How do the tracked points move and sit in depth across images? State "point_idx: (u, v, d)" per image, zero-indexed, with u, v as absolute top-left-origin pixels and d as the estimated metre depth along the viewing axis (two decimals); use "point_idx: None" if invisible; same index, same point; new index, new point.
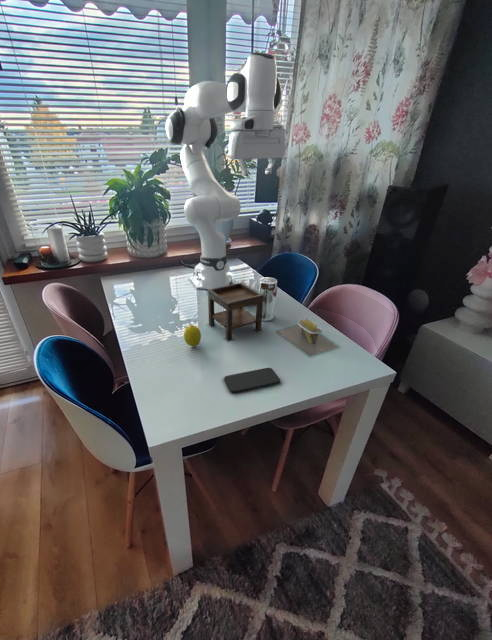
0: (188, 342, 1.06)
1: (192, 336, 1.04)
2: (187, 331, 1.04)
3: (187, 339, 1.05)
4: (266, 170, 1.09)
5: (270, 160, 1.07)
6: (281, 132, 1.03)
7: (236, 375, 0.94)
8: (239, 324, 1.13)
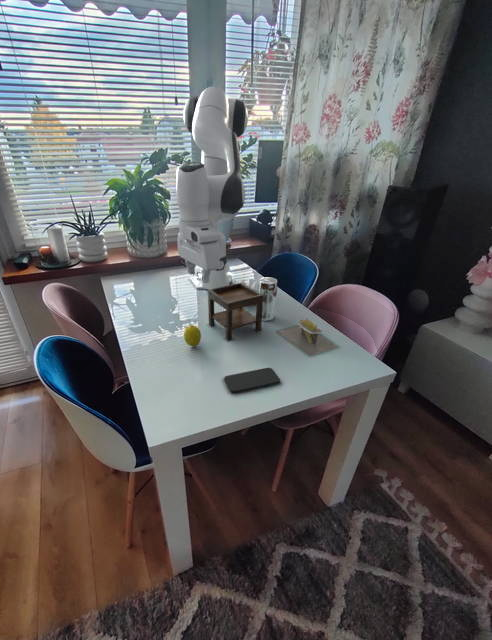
0: (188, 342, 1.06)
1: (192, 336, 1.04)
2: (187, 331, 1.04)
3: (187, 339, 1.05)
4: (191, 270, 1.01)
5: None
6: None
7: (236, 375, 0.94)
8: (239, 324, 1.13)
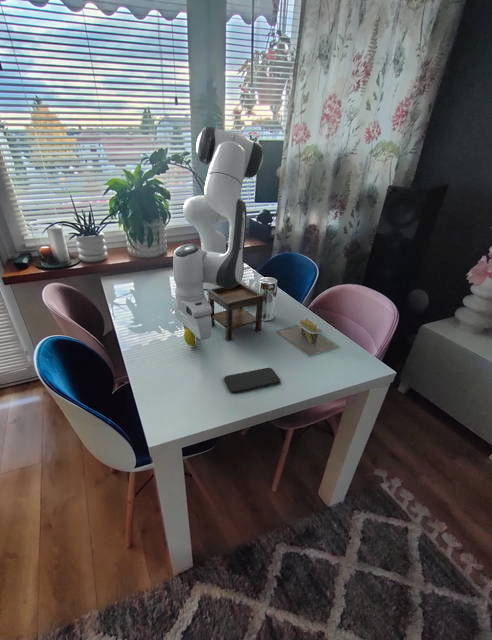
0: (188, 342, 1.06)
1: (192, 336, 1.04)
2: (187, 331, 1.04)
3: (187, 339, 1.05)
4: None
5: None
6: None
7: (236, 375, 0.94)
8: (239, 324, 1.13)
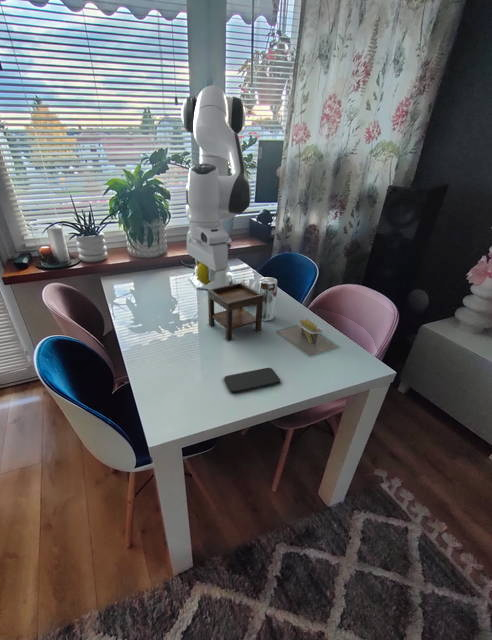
0: (201, 278, 0.99)
1: (205, 271, 0.98)
2: (200, 266, 0.98)
3: (200, 275, 0.98)
4: None
5: None
6: None
7: (236, 375, 0.94)
8: (239, 324, 1.13)
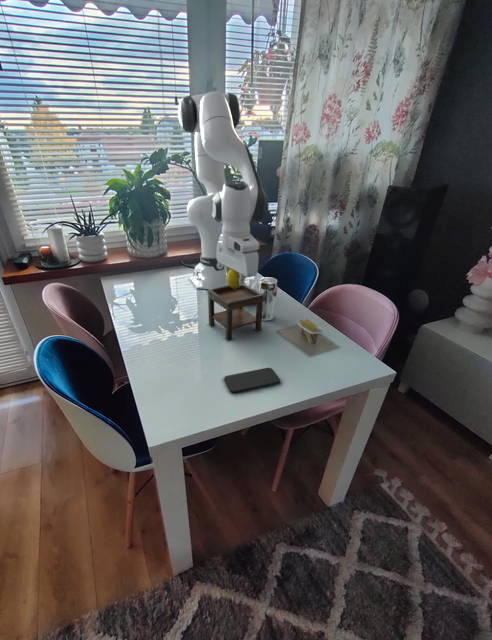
0: (231, 283, 1.08)
1: (236, 277, 1.07)
2: (231, 272, 1.07)
3: (231, 280, 1.08)
4: None
5: None
6: None
7: (236, 375, 0.94)
8: (239, 324, 1.13)
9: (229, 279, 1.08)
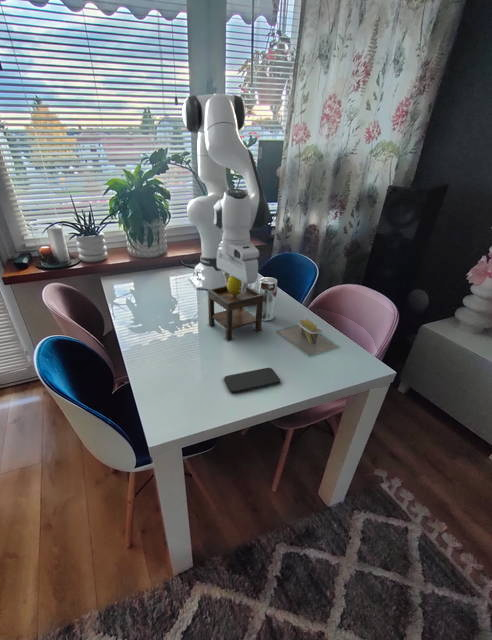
0: (231, 290, 1.10)
1: (235, 284, 1.08)
2: (231, 279, 1.08)
3: (231, 287, 1.09)
4: None
5: None
6: None
7: (236, 375, 0.94)
8: (239, 324, 1.13)
9: (229, 286, 1.09)
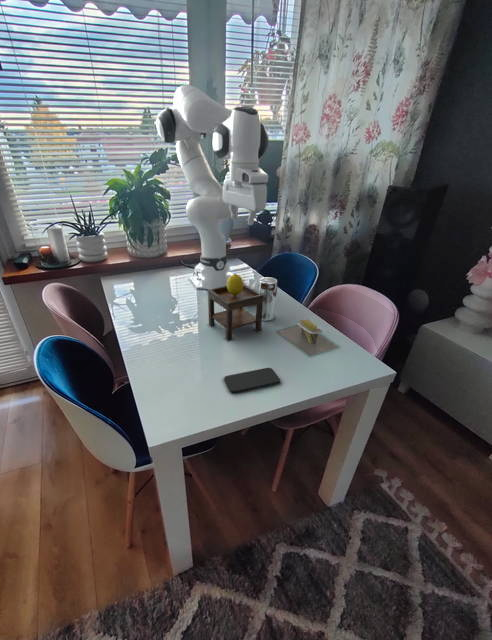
0: (231, 290, 1.10)
1: (235, 284, 1.08)
2: (231, 279, 1.08)
3: (231, 287, 1.09)
4: (234, 215, 1.09)
5: (234, 206, 1.08)
6: None
7: (236, 375, 0.94)
8: (239, 324, 1.13)
9: (229, 286, 1.09)
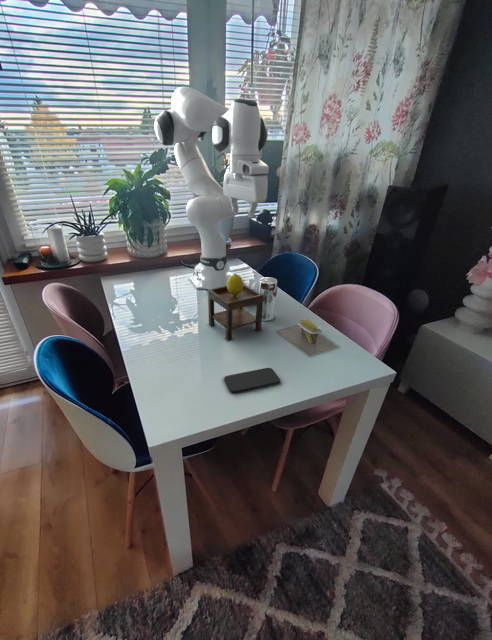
0: (231, 290, 1.10)
1: (235, 284, 1.08)
2: (231, 279, 1.08)
3: (231, 287, 1.09)
4: (235, 209, 1.09)
5: (235, 199, 1.09)
6: None
7: (236, 375, 0.94)
8: (239, 324, 1.13)
9: (229, 286, 1.09)
